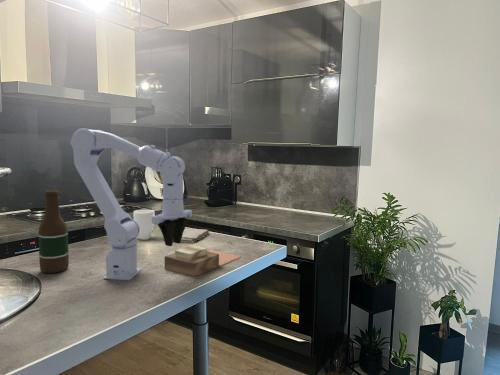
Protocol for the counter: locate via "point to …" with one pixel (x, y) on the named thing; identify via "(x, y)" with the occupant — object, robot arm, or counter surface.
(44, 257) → the beer bottle
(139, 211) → the mug
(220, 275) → the counter surface
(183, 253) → the tile
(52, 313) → the counter surface
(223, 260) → the mat
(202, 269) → the brown flat block
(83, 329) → the counter surface
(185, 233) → the washcloth
